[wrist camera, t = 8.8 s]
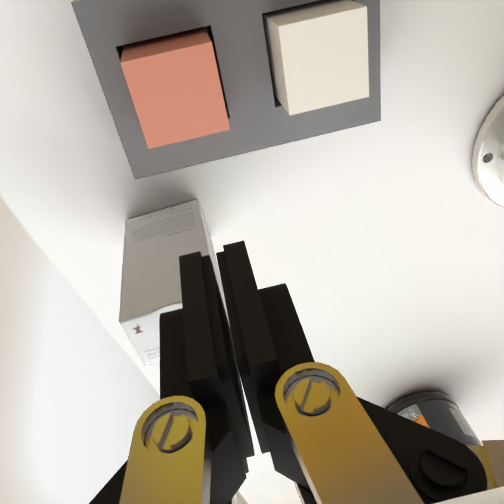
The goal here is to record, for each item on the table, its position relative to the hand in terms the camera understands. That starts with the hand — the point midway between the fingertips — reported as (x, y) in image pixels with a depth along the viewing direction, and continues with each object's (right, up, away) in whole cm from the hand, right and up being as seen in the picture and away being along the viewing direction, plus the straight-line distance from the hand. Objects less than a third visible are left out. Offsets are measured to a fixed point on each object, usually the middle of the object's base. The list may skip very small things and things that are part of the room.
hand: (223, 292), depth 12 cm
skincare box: (-6, +3, +25) cm, 26 cm away
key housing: (-1, +14, +19) cm, 23 cm away
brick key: (-4, +12, +16) cm, 20 cm away
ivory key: (+4, +14, +16) cm, 21 cm away
